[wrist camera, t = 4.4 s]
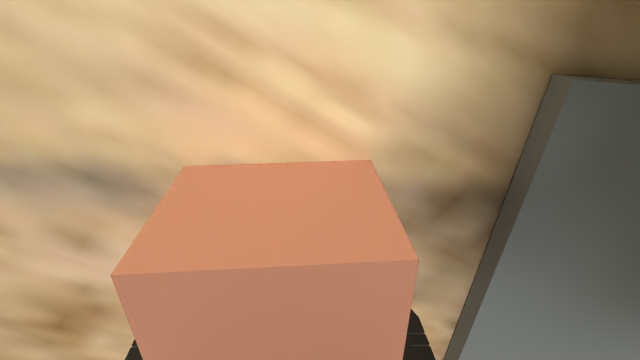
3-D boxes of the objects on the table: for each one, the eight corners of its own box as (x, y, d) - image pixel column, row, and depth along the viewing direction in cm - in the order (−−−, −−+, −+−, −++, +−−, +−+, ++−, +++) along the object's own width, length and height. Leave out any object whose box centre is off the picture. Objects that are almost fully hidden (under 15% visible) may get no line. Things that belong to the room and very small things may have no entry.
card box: (184, 166, 10) (106, 280, 6) (370, 160, 10) (421, 264, 6) (228, 377, 15) (203, 525, 10) (356, 369, 15) (380, 509, 11)
